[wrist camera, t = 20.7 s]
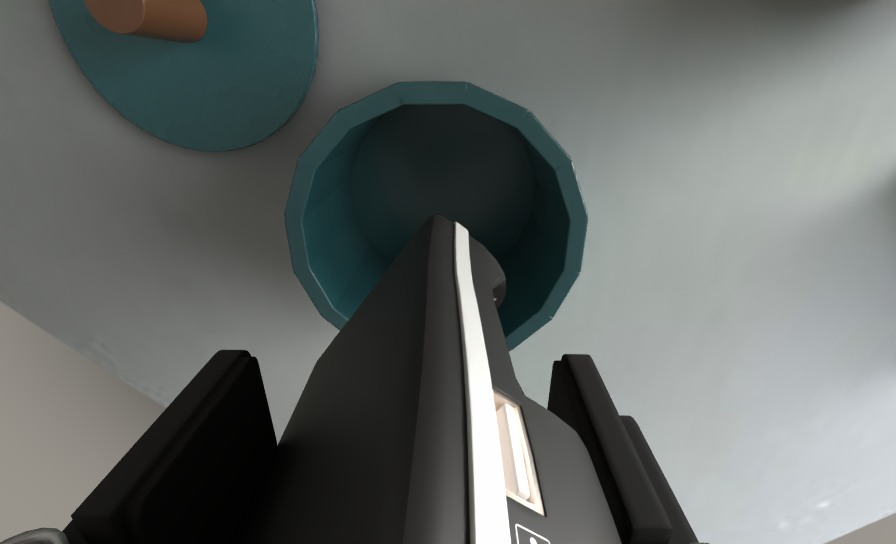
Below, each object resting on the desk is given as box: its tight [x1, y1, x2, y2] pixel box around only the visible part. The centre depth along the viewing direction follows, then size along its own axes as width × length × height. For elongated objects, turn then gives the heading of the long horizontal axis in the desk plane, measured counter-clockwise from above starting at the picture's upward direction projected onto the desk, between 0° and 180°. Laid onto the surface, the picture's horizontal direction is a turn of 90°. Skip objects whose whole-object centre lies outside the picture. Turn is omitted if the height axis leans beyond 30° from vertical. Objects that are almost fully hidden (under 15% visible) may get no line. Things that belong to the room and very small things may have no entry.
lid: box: [50, 0, 319, 152], centre depth 21 cm, size 14×14×6 cm
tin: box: [284, 82, 588, 351], centre depth 23 cm, size 13×13×10 cm
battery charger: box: [231, 215, 622, 544], centre depth 8 cm, size 7×4×11 cm, turn 143°
